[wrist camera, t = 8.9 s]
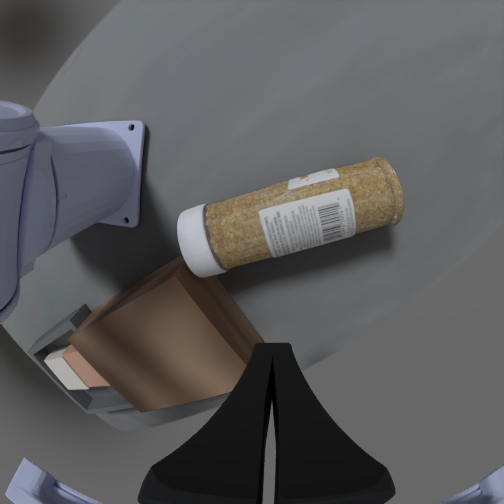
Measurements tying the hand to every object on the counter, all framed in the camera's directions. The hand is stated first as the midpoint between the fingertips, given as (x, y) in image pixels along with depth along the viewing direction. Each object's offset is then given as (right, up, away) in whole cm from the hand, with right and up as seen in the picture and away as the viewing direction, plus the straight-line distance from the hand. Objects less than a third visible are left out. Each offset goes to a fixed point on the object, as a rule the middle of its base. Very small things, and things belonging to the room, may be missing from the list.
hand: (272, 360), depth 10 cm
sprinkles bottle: (+8, +8, +5) cm, 13 cm away
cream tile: (-23, -10, +13) cm, 28 cm away
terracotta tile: (-18, -7, +15) cm, 24 cm away
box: (-20, -9, +16) cm, 27 cm away
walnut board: (-8, -2, +13) cm, 15 cm away
